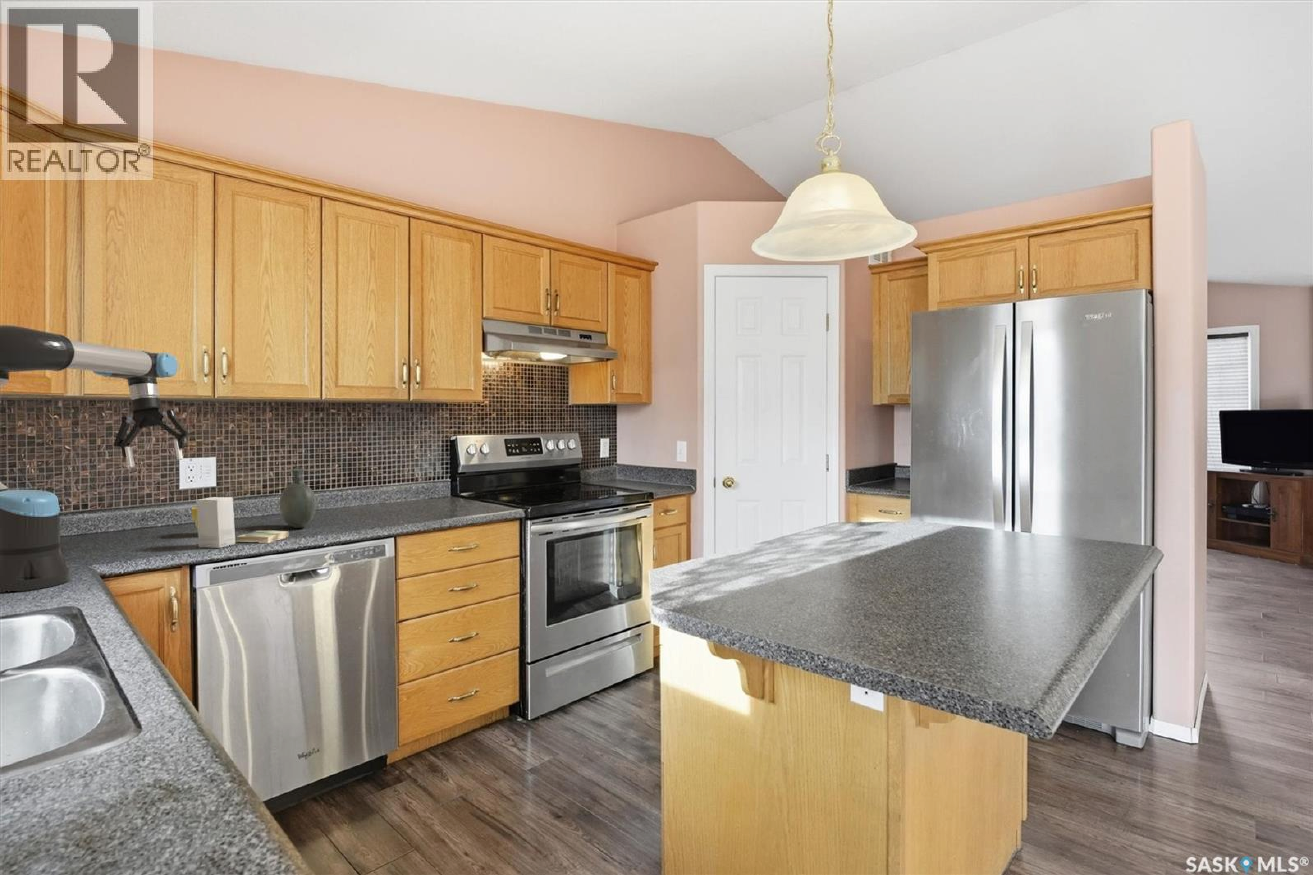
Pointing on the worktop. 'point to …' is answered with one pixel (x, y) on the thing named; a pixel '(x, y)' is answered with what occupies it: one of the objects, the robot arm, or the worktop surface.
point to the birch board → (262, 536)
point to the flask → (297, 502)
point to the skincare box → (215, 522)
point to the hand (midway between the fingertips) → (156, 463)
